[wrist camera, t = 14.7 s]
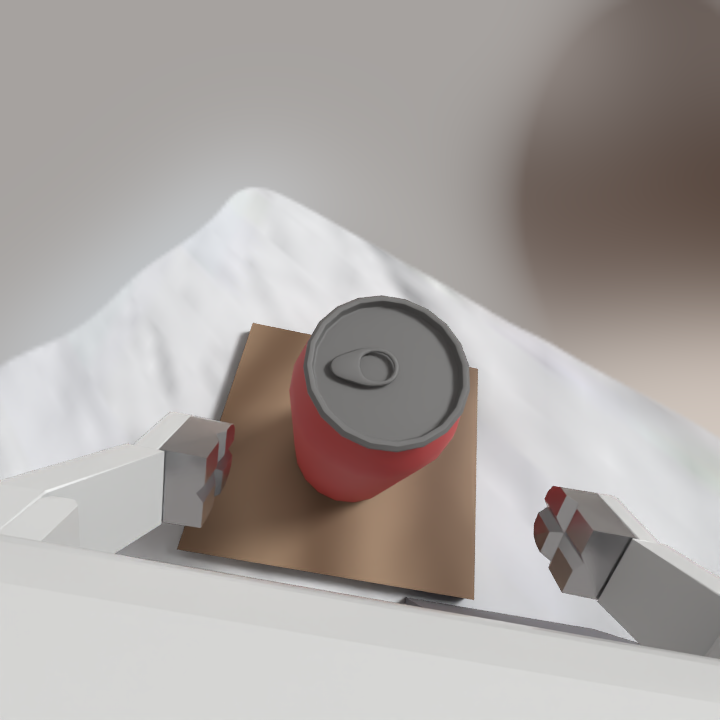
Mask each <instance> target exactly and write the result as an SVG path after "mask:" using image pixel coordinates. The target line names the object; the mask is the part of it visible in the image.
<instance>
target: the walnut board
mask: <svg viewBox="0 0 720 720" xmlns="http://www.w3.org/2000/svg"><path fill="white" fill-rule="evenodd" d="M310 337H311V335H309V334H305V333H300V332H295V331H290V330H285V329H280V328H275V327H270V326H265V325H260V324H256V323H253V324H252V327H251V330H250V333H249V336H248V339H247V342H246V345H245V348H244V351H243V354H242V357H241V360H240V363H239V366H238V369H237V372H236V375H235V378H234V381H233V384H232V387H231V390H230V393H229V396H228V399H227V402H226V405H225V408H224V411H223V414H222V416H221V419H220V421H222V422H226V423H231V424H234V427H235V434H234V441H233V442H232V444H231V446H230V447H229V451H230V453H231V454H232V462H231V468H230V472H229V476H228V478H227V481H226V484H225V486H224V488H223V490H222V492H221V494H219V495H217V496H215V497H214V502H213V508H212V509H211V511H210V513H209V515H208V516H207V518H206V520H205V522H204V523H203V525H202V527H201V528H198V527H192V526H185V527H184V530H183V533H182V536H181V539H180V542H179V545H178V548H177V549H178V550H184V551H190V552H196V553H202V554H207V555H213V556H219V557H225V558H231V559H237V560H243V561H249V562H254V563H260V564H266V565H272V566H278V567H284V568H290V569H296V570H301V571H307V572H313V573H319V574H325V575H331V576H337V577H343V578H348V579H354V580H360V581H366V582H372V583H378V584H384V585H390V586H395V587H401V588H407V589H413V590H419V591H425V592H431V593H437V594H442V595H448V596H454V597H460V598H466V599H472V600H474V568H475V508H476V448H477V387H478V369H476V368H471V367H469V376H470V392H469V395H468V398H467V401H466V404H465V407H464V411H463V413H462V414H461V416H460V419H459V423H458V426H457V429H456V432H455V434H454V436H453V438H452V439H451V441H450V442H449V443H448V445H447V446H446V447H445V448H444V450H443V451H442V452H441V454H440V455H439V456H438V457H437V459H435V460H434V461H432V462H431V463H429V464H427V465H426V466H424V467H423V468H421V469H419V470H418V471H416V472H415V473H413V474H411V475H410V476H408V477H406V478H405V479H403V480H401V481H400V482H398V483H396V484H395V485H393V486H391V487H390V488H388V489H386V490H385V491H383V492H381V493H380V494H378V495H376V496H375V497H373V498H371V499H367V500H362V501H358V502H345V501H336V500H333V499H331V498H329V497H327V496H325V495H323V494H321V493H319V492H318V491H317V490H316V489H315V488H314V487H313V486H312V485H311V484H310V483H309V482H308V481H307V480H306V479H305V478H304V476H303V474H302V472H301V470H300V468H299V466H298V464H297V458H296V452H295V445H294V434H293V424H292V413H291V403H290V392H289V389H290V384H291V379H292V374H293V368H294V364H295V362H296V361H297V359H298V357H299V355H300V353H301V352H302V350H303V348H304V347H305V345H306V343H307V341H308V340H309V338H310Z"/></svg>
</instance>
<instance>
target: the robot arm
mask: <svg viewBox="0 0 720 720" xmlns="http://www.w3.org/2000/svg"><path fill="white" fill-rule="evenodd" d="M234 434H235V427H234V424H231V423H226V422H222V421H217V420H212V419H208V418H203V417H198V416H193V415H190V414H184V413H178V412H169V413H168V414H167V415H166V416H165V417H164V418H162V419H161V420H160V421H159V422H158V423H157V424H156V425H155V426H153V427H152V428H151V429H150V430H149V431H148V432H147V433H146V434H144V435H143V436H142V437H141V438H140V439H139V440H138V441H137V442H135V443H134V444H133V445H131V444H123V445H120V446H116V447H113V448H110V449H106V450H103V451H99V452H96V453H92V454H89V455H86V456H82V457H79V458H75V459H72V460H68V461H65V462H62V463H58V464H55V465H51V466H48V467H45V468H41V469H38V470H34V471H31V472H27V473H24V474H21V475H17V476H14V477H10V478H7V479H3V480H0V720H720V577H718V576H717V575H715V574H713V573H712V572H710V571H708V570H707V569H705V568H704V567H702V566H700V565H699V564H697V563H696V562H694V561H692V560H691V559H689V558H687V557H686V556H684V555H683V554H681V553H679V552H678V551H676V550H675V549H673V548H671V547H670V546H668V545H665V544H661V543H660V542H659V541H658V540H657V539H656V538H655V537H654V536H653V535H652V534H651V533H650V532H649V531H648V530H647V529H646V528H645V526H644V525H643V524H642V523H641V522H640V521H639V520H638V519H637V518H636V517H635V516H634V515H633V514H632V513H631V512H630V511H629V510H628V509H627V507H626V506H625V505H624V504H623V503H622V502H621V501H620V500H619V499H618V498H616V497H614V496H612V495H607V494H600V493H594V492H587V491H581V490H575V489H569V488H563V487H556V486H553V487H552V488H551V489H550V490H549V491H548V493H547V495H546V497H545V502H546V505H547V508H545V509H544V510H542V511H541V512H539V513H538V515H537V518H536V520H535V523H534V538H535V542H536V545H537V547H538V549H539V551H540V552H541V553H542V554H543V555H544V556H545V557H546V558H547V559H549V560H550V564H549V570H550V571H551V573H552V575H553V577H554V579H555V581H556V583H557V584H558V586H559V588H560V590H561V592H562V593H567V594H572V595H576V596H581V597H586V598H591V599H596V600H598V601H597V602H598V603H599V604H600V605H601V606H602V607H603V608H604V609H605V610H606V611H607V612H608V613H609V614H610V615H611V616H612V617H613V618H614V619H615V620H616V621H617V622H618V623H619V624H620V625H621V626H622V627H623V628H624V629H625V630H626V631H627V632H628V633H629V634H630V635H631V636H632V637H633V638H634V639H635V640H636V641H637V642H638V643H639V644H640V645H635V644H630V643H624V642H618V641H612V640H607V639H601V638H595V637H590V636H584V635H578V634H572V633H567V632H561V631H555V630H549V629H544V628H538V627H532V626H526V625H521V624H515V623H509V622H504V621H498V620H492V619H486V618H480V617H474V616H469V615H463V614H457V613H451V612H445V611H440V610H434V609H428V608H422V607H417V606H411V605H405V604H399V603H394V602H388V601H382V600H377V599H371V598H365V597H359V596H354V595H348V594H342V593H336V592H331V591H325V590H319V589H313V588H308V587H302V586H296V585H290V584H285V583H279V582H273V581H268V580H262V579H256V578H250V577H245V576H239V575H233V574H227V573H222V572H216V571H210V570H204V569H199V568H193V567H187V566H181V565H176V564H170V563H164V562H159V561H153V560H147V559H141V558H136V557H130V556H124V555H118V554H115V553H116V552H118V551H119V550H121V549H123V548H124V547H126V546H127V545H129V544H131V543H132V542H134V541H135V540H137V539H139V538H140V537H142V536H143V535H145V534H146V533H148V532H150V531H151V530H153V529H154V528H156V527H158V526H159V525H161V522H165V523H171V524H178V525H185V526H192V527H198V528H201V527H202V525H203V523H204V522H205V520H206V518H207V516H208V515H209V513H210V511H211V509H212V508H213V502H214V497H215V496H217V495H219V494H221V492H222V490H223V488H224V486H225V484H226V481H227V478H228V476H229V472H230V468H231V462H232V454H231V453H230V451H229V447H230V446H231V444H232V442H233V441H234Z"/></svg>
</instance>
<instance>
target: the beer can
mask: <svg viewBox="0 0 720 720" xmlns="http://www.w3.org/2000/svg"><path fill="white" fill-rule="evenodd" d="M289 392H290V403H291V413H292V424H293V434H294V445H295V452H296V458H297V464H298V466H299V468H300V470H301V472H302V474H303V476H304V478H305V479H306V480H307V481H308V482H309V483H310V484H311V485H312V486H313V487H314V488H315V489H316V490H317V491H318V492H319V493H321V494H323V495H325V496H327V497H329V498H331V499H333V500H336V501H345V502H358V501H362V500H367V499H371V498H373V497H375V496H376V495H378V494H380V493H381V492H383V491H385V490H386V489H388V488H390V487H391V486H393V485H395V484H396V483H398V482H400V481H401V480H403V479H405V478H406V477H408V476H410V475H411V474H413V473H415V472H416V471H418V470H419V469H421V468H423V467H424V466H426V465H427V464H429V463H431V462H432V461H434V460H435V459H437V457H438V456H439V455H440V454H441V452H442V451H443V450H444V448H445V447H446V446H447V445H448V443H449V442H450V441H451V439H452V438H453V436H454V434H455V432H456V429H457V426H458V423H459V419H460V416H461V414H462V413H463V411H464V407H465V404H466V401H467V398H468V395H469V392H470V376H469V364H468V362H467V359H466V356H465V353H464V351H463V348H462V345H461V343H460V342H459V340H458V339H457V338H456V336H455V335H454V334H453V332H452V331H451V329H450V328H449V327H448V325H447V324H446V323H444V322H443V321H442V320H441V319H439V318H438V317H437V316H436V315H434V314H433V313H432V312H431V311H429V310H428V309H426V308H424V307H422V306H419V305H417V304H415V303H413V302H410V301H408V300H406V299H400V298H394V297H388V296H373V297H364V298H357V299H355V300H352V301H350V302H348V303H345V304H343V305H340V306H338V307H336V308H335V309H334V310H333V311H332V312H330V313H329V314H328V315H327V316H326V317H324V318H323V319H322V320H321V321H320V322H319V323H318V325H317V327H316V328H315V330H314V332H313V334H312V335H311V337H310V338H309V340H308V341H307V343H306V345H305V347H304V348H303V350H302V352H301V353H300V355H299V357H298V359H297V361H296V362H295V364H294V368H293V374H292V379H291V384H290V389H289Z"/></svg>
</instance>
